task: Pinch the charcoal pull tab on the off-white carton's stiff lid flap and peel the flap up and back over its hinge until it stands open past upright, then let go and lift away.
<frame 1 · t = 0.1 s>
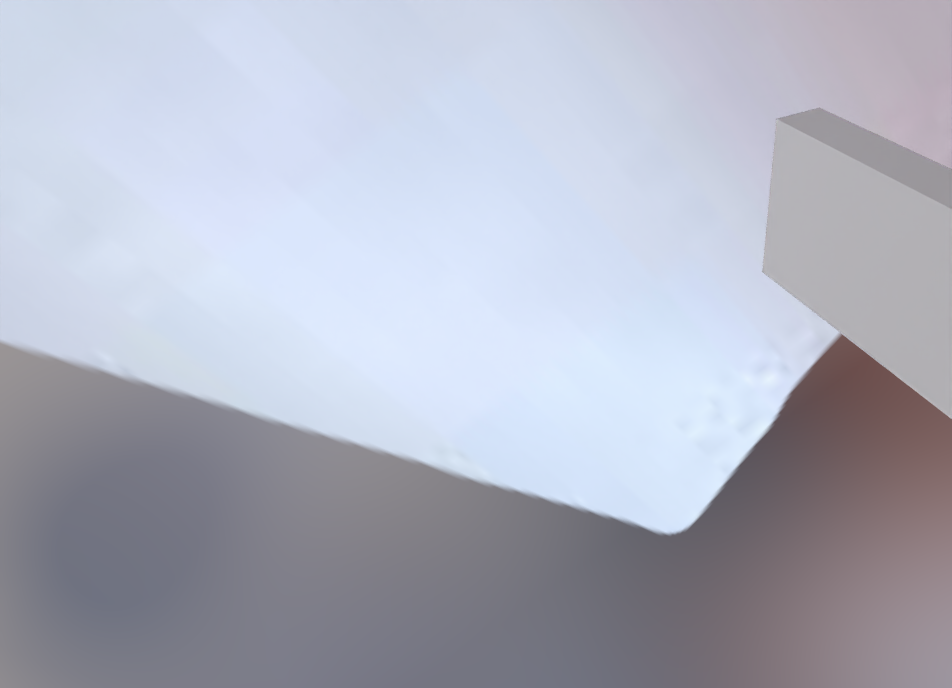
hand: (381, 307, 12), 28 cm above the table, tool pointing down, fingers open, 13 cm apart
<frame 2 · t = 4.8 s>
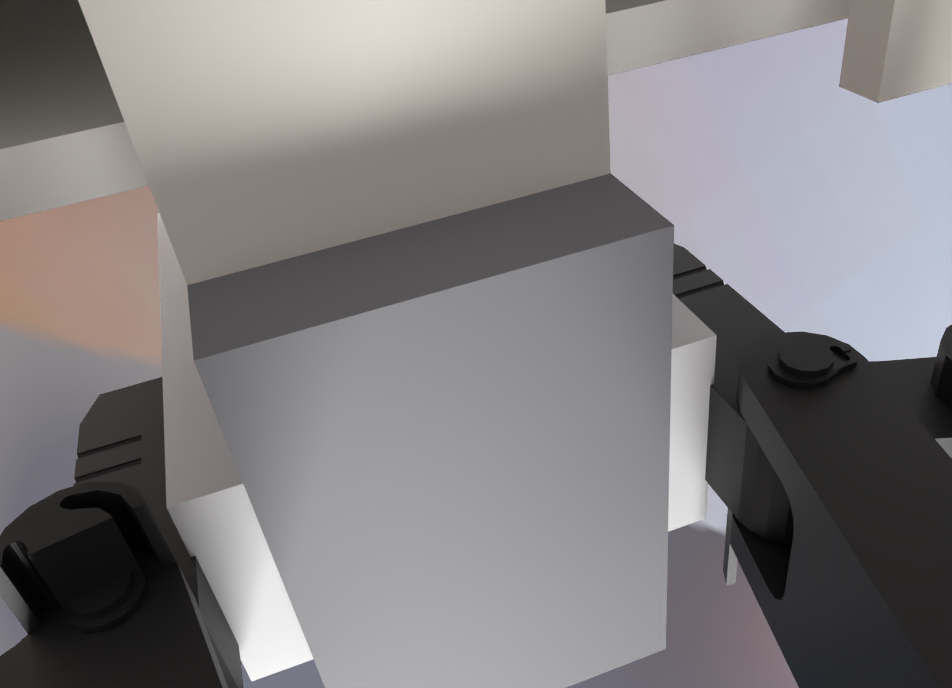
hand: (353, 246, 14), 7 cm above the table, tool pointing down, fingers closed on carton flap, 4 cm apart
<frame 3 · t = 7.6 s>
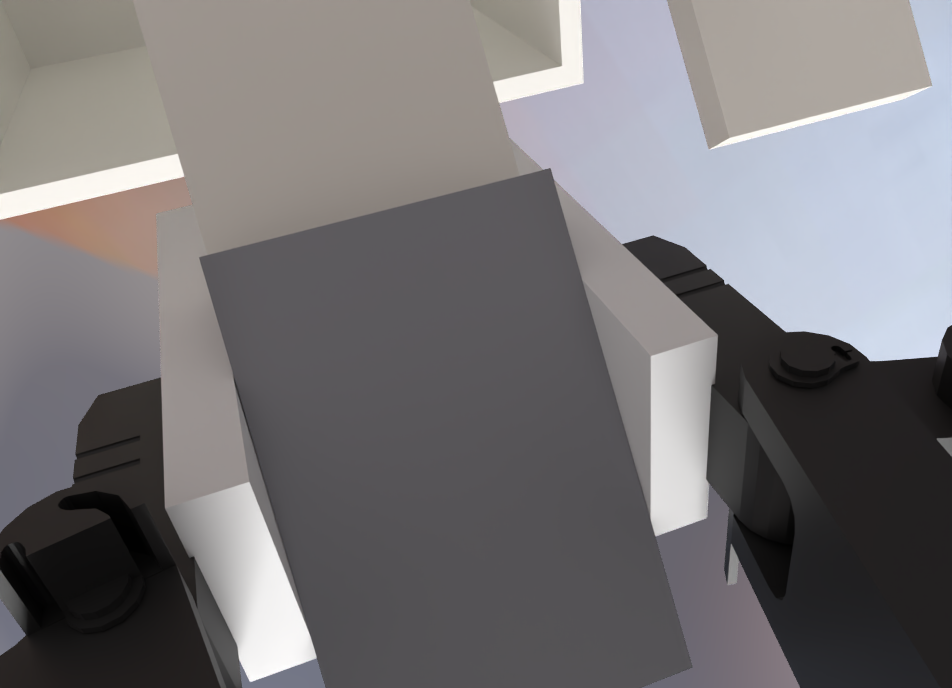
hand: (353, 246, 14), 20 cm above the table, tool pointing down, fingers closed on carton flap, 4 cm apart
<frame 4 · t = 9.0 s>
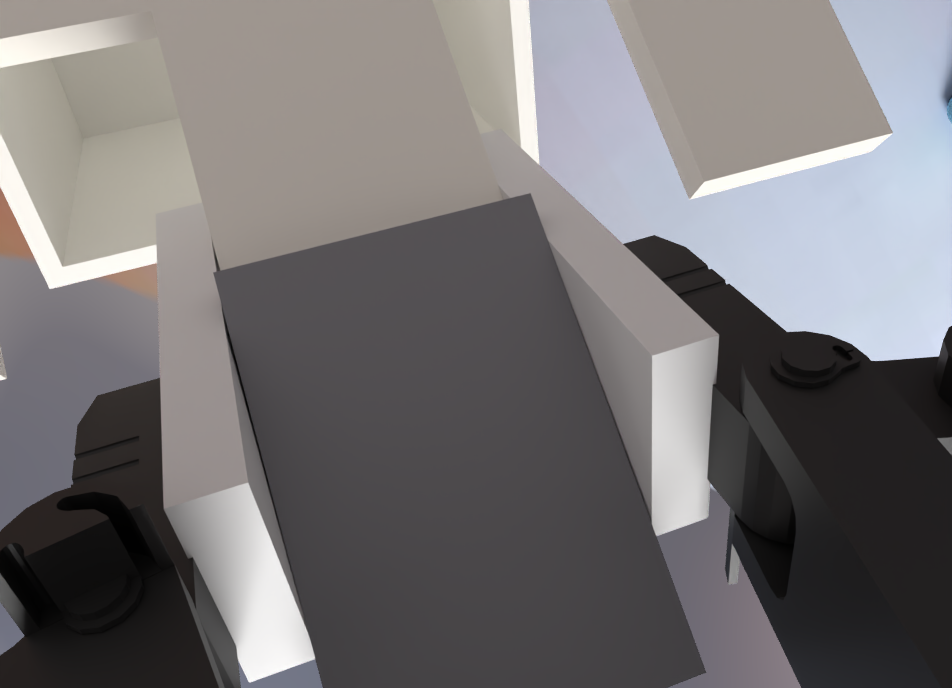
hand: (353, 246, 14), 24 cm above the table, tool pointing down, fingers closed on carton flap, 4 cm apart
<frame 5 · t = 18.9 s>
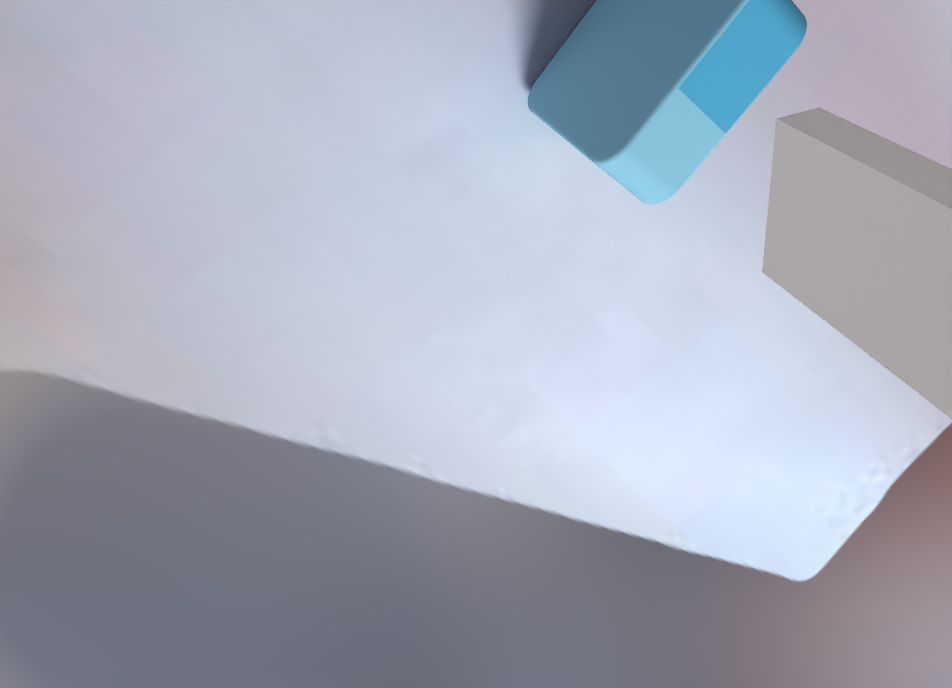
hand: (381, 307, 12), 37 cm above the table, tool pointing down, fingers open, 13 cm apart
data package: (604, 39, 51), on the table
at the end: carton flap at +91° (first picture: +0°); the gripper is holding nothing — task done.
